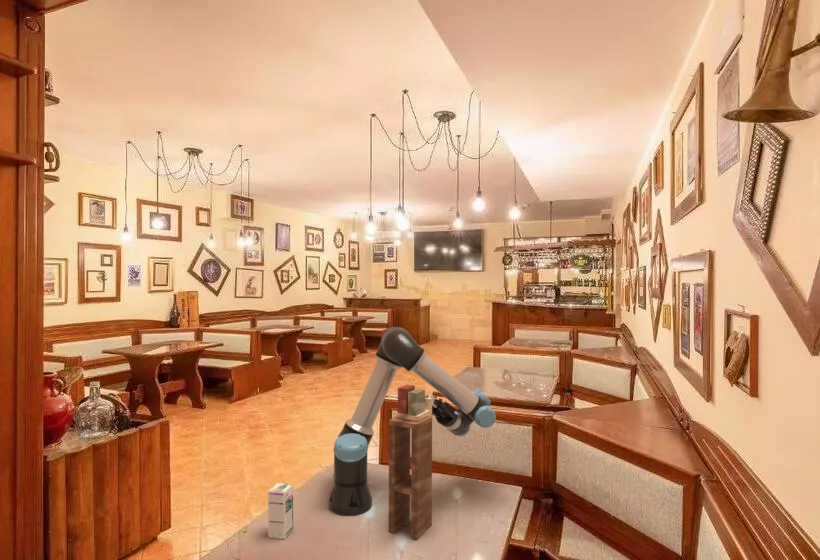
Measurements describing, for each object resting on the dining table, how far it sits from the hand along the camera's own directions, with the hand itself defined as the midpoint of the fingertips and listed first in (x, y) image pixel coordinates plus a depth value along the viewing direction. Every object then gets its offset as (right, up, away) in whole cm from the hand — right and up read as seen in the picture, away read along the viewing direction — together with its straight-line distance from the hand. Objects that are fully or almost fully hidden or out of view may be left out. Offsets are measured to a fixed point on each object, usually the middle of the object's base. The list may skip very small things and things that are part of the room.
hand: (423, 397), depth 158 cm
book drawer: (-1, -5, -2) cm, 5 cm away
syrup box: (-45, -40, -12) cm, 61 cm away
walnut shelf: (-4, -40, -8) cm, 41 cm away
